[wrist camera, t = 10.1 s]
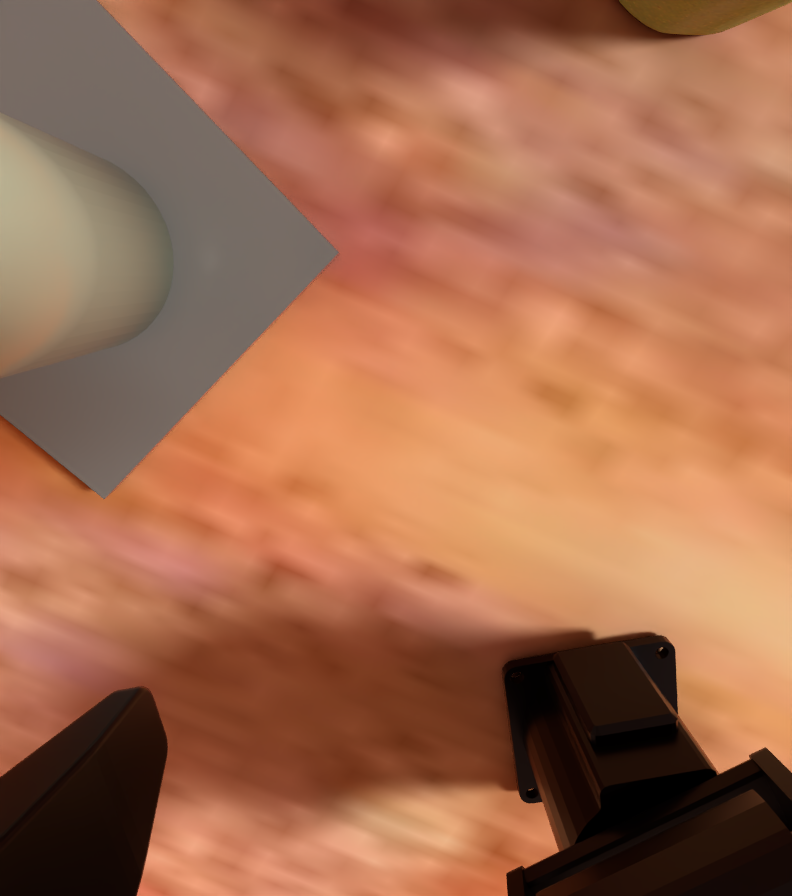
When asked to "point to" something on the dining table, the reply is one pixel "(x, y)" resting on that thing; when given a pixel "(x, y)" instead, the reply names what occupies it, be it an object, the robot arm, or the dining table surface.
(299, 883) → the dining table surface
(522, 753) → the robot arm
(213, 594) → the dining table surface
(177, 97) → the slate pad
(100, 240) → the pale lidded canister
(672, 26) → the plant pot
